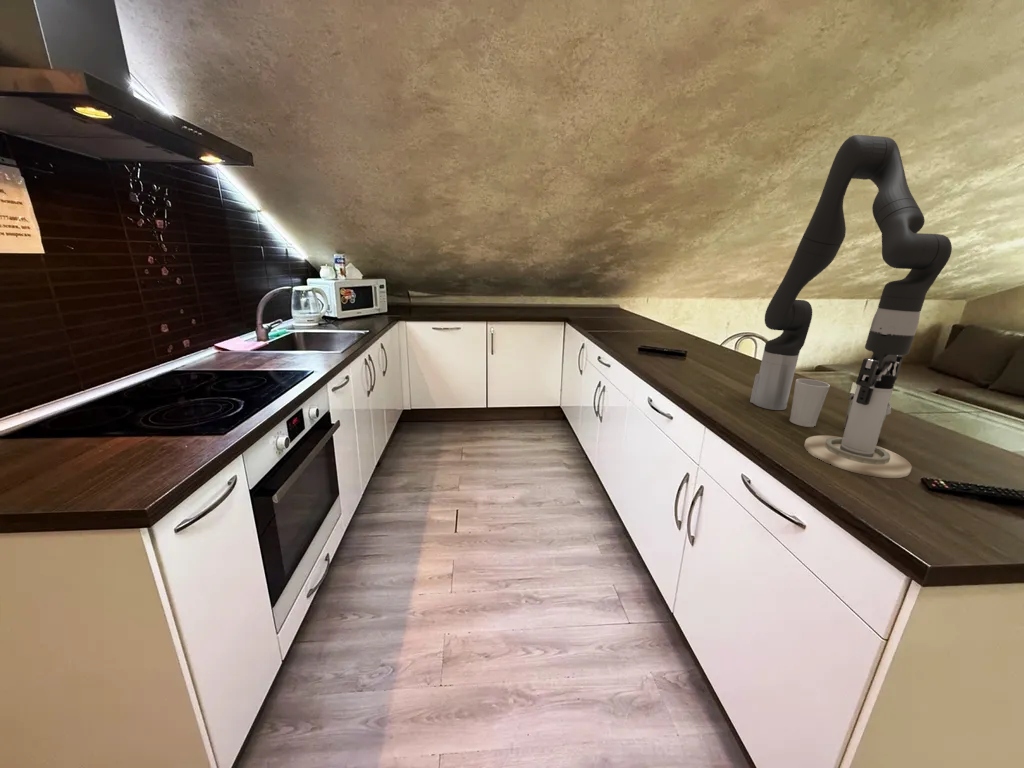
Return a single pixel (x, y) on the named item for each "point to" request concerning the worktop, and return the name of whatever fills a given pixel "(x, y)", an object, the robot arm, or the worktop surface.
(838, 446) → the round plate
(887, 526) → the worktop surface
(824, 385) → the cup
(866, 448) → the travel mug
